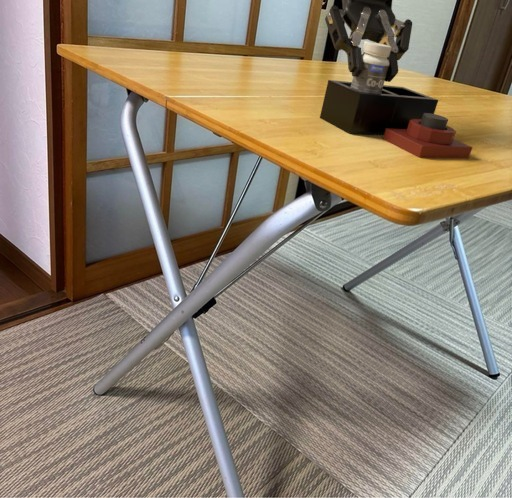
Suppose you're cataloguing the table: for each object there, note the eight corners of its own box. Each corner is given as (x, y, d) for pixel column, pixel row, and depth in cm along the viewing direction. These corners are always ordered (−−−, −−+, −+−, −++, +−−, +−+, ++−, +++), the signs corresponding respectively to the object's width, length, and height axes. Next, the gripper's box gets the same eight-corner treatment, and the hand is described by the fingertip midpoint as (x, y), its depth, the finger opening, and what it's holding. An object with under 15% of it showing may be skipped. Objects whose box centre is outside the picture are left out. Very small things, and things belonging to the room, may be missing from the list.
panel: (430, 140, 82) (437, 118, 80) (468, 158, 76) (477, 135, 74) (382, 139, 77) (389, 116, 75) (418, 157, 71) (427, 133, 69)
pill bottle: (363, 105, 76) (379, 46, 72) (341, 97, 79) (355, 39, 75) (384, 105, 79) (400, 48, 75) (362, 97, 82) (377, 41, 78)
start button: (432, 125, 77) (435, 113, 76) (449, 132, 74) (453, 120, 73) (414, 124, 75) (418, 112, 75) (431, 131, 73) (435, 119, 72)
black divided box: (392, 121, 90) (403, 86, 87) (426, 137, 83) (438, 100, 81) (319, 118, 82) (328, 79, 80) (349, 134, 76) (360, 93, 73)
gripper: (332, -47, 75) (340, 53, 71) (418, -29, 79) (431, 68, 74) (313, -10, 82) (319, 84, 78) (393, 6, 86) (404, 96, 81)
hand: (374, 75), depth 76 cm, fingers closed on pill bottle, 4 cm apart
